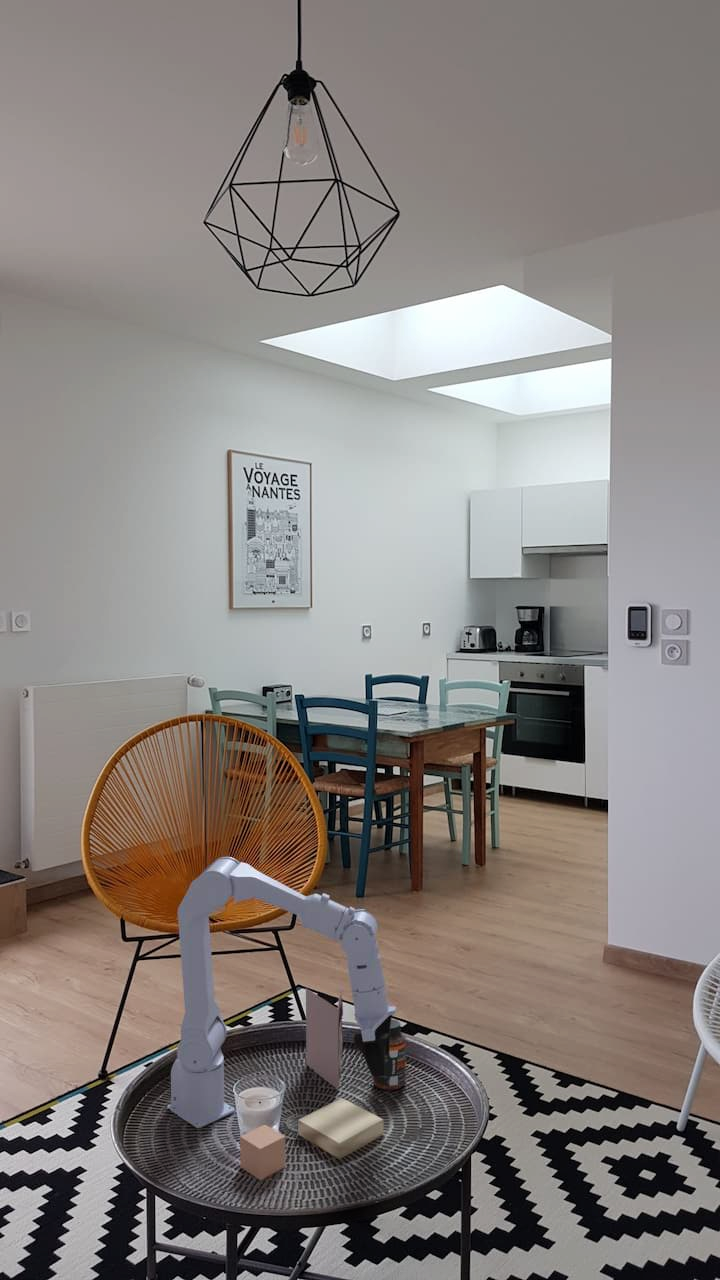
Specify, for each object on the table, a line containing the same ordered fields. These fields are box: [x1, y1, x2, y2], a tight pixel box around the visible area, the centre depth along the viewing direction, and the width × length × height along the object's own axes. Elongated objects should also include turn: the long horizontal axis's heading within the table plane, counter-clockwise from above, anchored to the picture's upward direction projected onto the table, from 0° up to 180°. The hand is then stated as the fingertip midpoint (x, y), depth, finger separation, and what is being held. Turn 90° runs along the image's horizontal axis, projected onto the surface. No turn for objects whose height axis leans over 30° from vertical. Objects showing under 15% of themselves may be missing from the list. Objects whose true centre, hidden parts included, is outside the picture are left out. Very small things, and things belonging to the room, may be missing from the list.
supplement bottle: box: [372, 1018, 407, 1091], centre depth 183 cm, size 6×6×11 cm
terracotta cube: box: [239, 1124, 286, 1181], centre depth 157 cm, size 5×5×5 cm
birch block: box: [297, 1097, 384, 1160], centre depth 166 cm, size 10×10×3 cm
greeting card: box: [305, 984, 344, 1091], centre depth 186 cm, size 11×7×15 cm, turn 178°
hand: (380, 1064), depth 169 cm, fingers open, 7 cm apart
